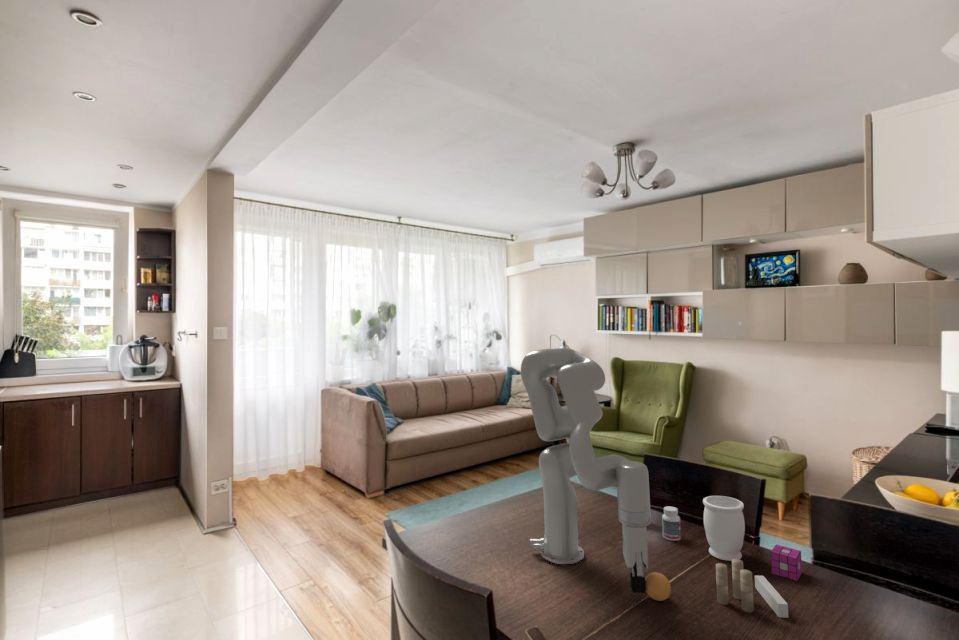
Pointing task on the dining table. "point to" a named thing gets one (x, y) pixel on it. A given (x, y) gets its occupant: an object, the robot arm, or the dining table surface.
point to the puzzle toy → (786, 562)
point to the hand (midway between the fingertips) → (638, 590)
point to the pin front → (722, 584)
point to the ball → (657, 586)
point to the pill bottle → (671, 524)
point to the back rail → (771, 596)
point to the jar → (724, 526)
